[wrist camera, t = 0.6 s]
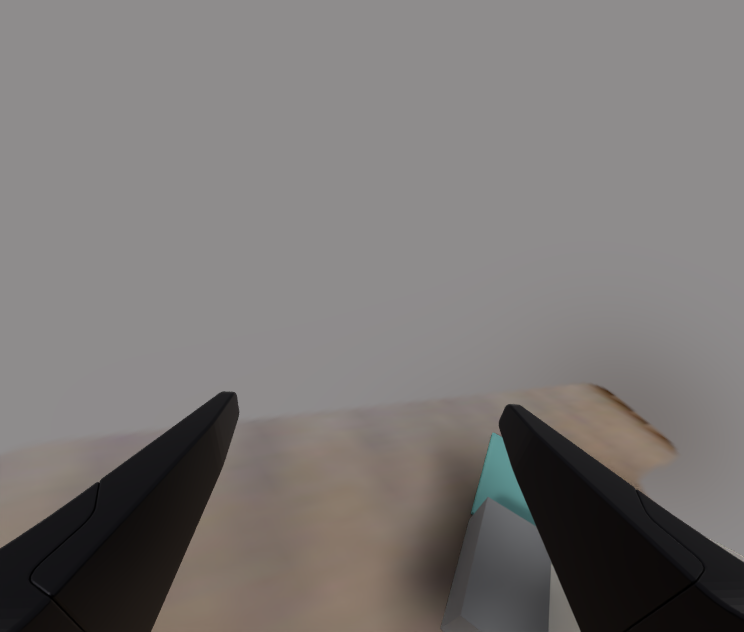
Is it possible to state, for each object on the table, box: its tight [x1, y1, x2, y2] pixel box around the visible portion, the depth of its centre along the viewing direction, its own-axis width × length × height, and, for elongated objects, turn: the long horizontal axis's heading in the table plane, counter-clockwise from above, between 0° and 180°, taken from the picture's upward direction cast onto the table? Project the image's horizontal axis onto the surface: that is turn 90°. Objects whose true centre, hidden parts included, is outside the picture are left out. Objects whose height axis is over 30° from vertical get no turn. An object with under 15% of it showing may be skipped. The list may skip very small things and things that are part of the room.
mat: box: [471, 433, 536, 526], centre depth 22 cm, size 8×14×1 cm, turn 59°
